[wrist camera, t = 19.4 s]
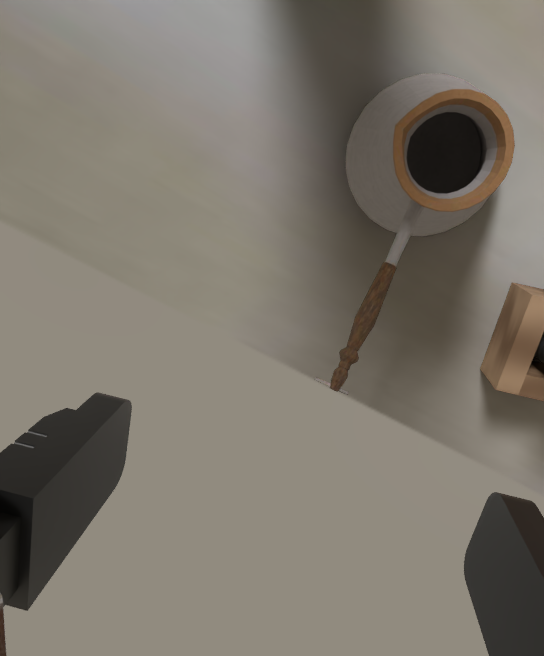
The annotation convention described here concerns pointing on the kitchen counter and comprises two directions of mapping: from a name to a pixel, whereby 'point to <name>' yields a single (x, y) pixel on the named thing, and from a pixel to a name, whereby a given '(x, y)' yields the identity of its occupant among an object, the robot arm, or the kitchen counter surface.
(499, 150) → the coffee pot
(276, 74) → the kitchen counter surface
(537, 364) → the walnut block
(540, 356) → the pin
